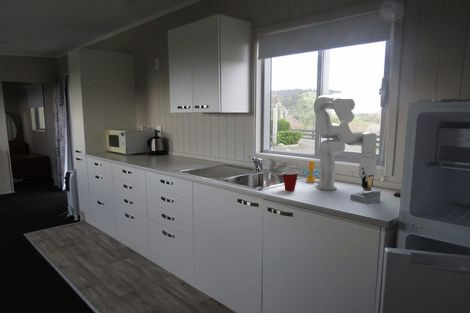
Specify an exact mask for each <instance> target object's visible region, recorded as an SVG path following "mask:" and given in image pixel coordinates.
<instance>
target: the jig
mask: <svg viewBox="0 0 470 313" xmlns="http://www.w3.org/2000/svg"><path fill="white" fill-rule="evenodd" d="M349 196H350V200H351V201H356V202H359V203H364V204H372V203H376V202H379V201H381V190H378V189H377V190H373V191H364V190H362V191H360V192H359V191H358V192H354V193H350V195H349Z"/></svg>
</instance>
